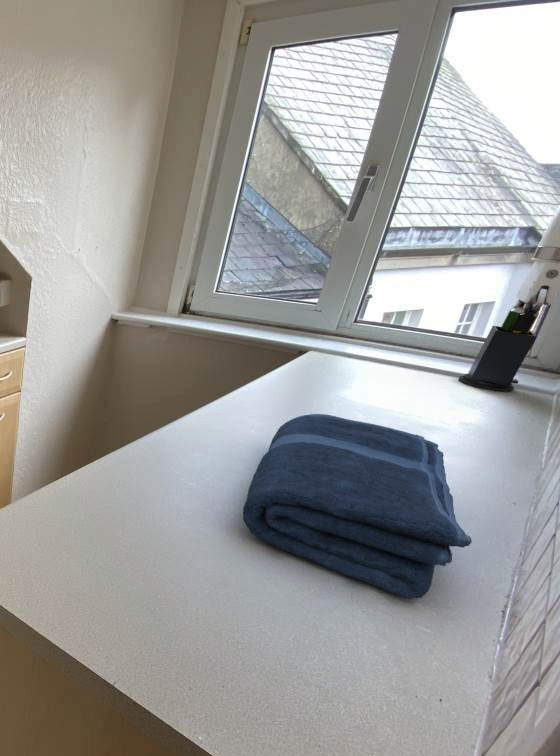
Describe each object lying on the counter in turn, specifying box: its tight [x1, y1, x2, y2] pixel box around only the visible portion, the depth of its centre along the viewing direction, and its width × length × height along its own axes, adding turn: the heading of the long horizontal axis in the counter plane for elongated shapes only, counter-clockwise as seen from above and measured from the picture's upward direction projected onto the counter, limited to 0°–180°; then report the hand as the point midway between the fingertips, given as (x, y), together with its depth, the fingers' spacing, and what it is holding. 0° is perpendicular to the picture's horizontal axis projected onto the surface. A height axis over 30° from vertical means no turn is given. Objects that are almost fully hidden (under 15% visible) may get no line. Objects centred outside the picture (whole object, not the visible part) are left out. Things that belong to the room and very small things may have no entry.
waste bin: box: [463, 325, 538, 388], centre depth 144 cm, size 10×10×14 cm
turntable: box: [457, 375, 515, 393], centre depth 148 cm, size 11×11×1 cm
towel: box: [242, 413, 473, 600], centre depth 85 cm, size 24×43×10 cm, turn 142°
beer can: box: [499, 305, 541, 335], centre depth 141 cm, size 5×5×12 cm
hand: (516, 328), depth 141 cm, fingers closed on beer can, 5 cm apart
